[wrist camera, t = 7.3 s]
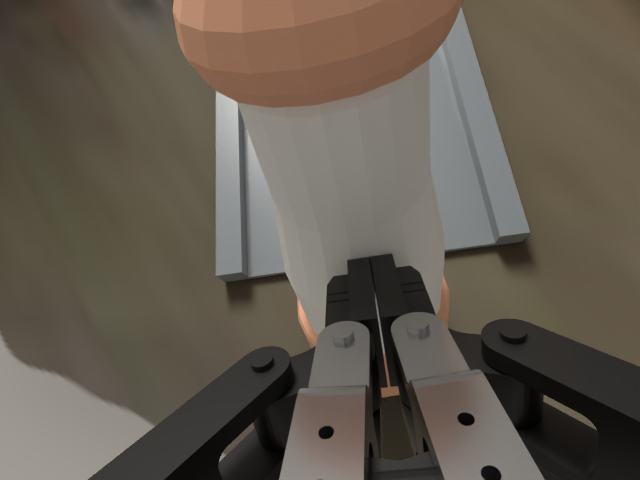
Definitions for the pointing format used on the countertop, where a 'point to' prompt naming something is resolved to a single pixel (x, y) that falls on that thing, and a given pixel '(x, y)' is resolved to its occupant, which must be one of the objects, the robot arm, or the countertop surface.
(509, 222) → the tray
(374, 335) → the robot arm
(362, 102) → the pepper shaker
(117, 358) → the countertop surface
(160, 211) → the countertop surface
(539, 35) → the countertop surface
